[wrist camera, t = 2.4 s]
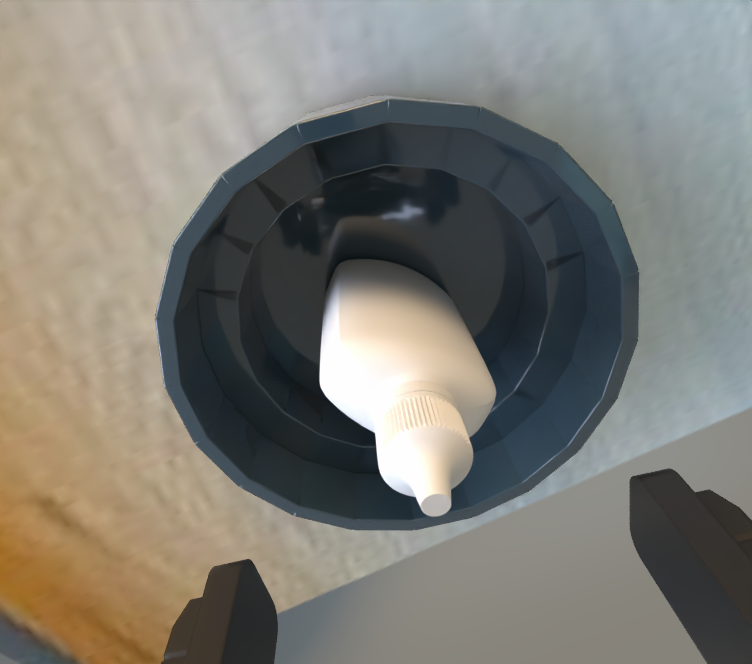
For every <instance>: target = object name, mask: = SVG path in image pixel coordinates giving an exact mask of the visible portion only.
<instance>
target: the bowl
mask: <svg viewBox="0 0 752 664" xmlns="http://www.w3.org/2000/svg"><path fill="white" fill-rule="evenodd" d="M351 259H373V260H381V261H387V262H392V263H395V264H399V265H402V266H405V267H407V268H410V269H412V270H414V271H416V272H418V273H420V274H422V275H424V276H425V277H427V278H428V279H430V280H431V281H433V282H434V283H435V284H437V285H438V286H439V287H440V288H441V289H442V290H444V291H445V292H446V293H447V294H448V295H449V297H450V298H451V299H452V300H453V302H454V304H455V306H456V307H457V309H458V311H459V313H460V315H461V317H462V319H463V321H464V323H465V325H466V327H467V329H468V331H469V333H470V334H471V336H472V338H473V340H474V342H475V344H476V346H477V348H478V350H479V352H480V354H481V356H482V358H483V360H484V362H485V364H486V366H487V369H488V371H489V373H490V375H491V377H492V379H493V382H494V385H495V388H496V398H495V402H494V405H493V407H492V409H491V411H490V413H489V414H488V416H487V418H486V419H485V421H484V423H483V424H482V426H481V427H480V428H479V430H478V431H477V432H476V433H475V434H473V435H472V436H471V437H469V440H470V442H471V445H472V448H473V462H472V466H471V467H470V468H471V469H470V470H469V473H468V474H467V476H466V477H465V478H464V479H463V480H462V481H461V482H460V483H459V484H458V485H457V486H456V487H454V488H453V489H451V507H450V509H449V511H448V512H446V513H445V514H443V515H441V516H428V515H426V514H424V513H423V511H422V510H421V508H420V505H419V503H418V501H417V499H416V497H413V496H408V495H405V494H402V493H399V492H398V491H396V490H394V489H392V487H390V486H389V485H388V484H387V483H386V481H384V480H383V477H381V474H380V470H379V466H378V457H377V447H376V436H375V433H374V432H372V431H370V430H369V429H367V428H365V427H363V426H362V425H360V424H358V423H357V422H355V421H354V420H352V419H351V418H350V417H348V416H347V415H346V414H344V413H343V412H342V411H341V410H340V409H338V408H337V407H336V406H335V405H334V404H333V403H332V402H331V401H330V400H329V399H328V398H327V397H326V396H325V394H324V392H323V391H322V389H321V387H320V353H321V339H322V325H323V312H324V299H325V294H326V291H327V288H328V286H329V283H330V281H331V278H332V275H333V273H334V271H335V269H336V267H337V266H338V265H339V264H340V263H341V262H344V261H346V260H351ZM638 311H639V272H638V267H637V264H636V261H635V259H634V256H633V253H632V251H631V248H630V245H629V243H628V240H627V237H626V235H625V232H624V229H623V227H622V224H621V221H620V219H619V216H618V213H617V211H616V208H615V205H614V204H613V203H612V200H611V199H610V198H609V197H608V196H607V195H606V194H605V193H604V192H603V191H602V190H601V188H600V187H599V186H598V185H597V184H596V183H595V182H594V181H593V180H592V179H591V178H590V177H589V175H588V174H587V173H586V172H585V171H584V170H583V169H582V168H581V167H580V166H579V165H578V163H577V162H576V161H575V160H574V159H573V158H572V157H571V156H570V155H569V154H568V153H567V152H566V150H565V149H564V148H563V147H562V146H561V145H559V144H558V143H557V142H555V141H552V140H550V139H548V138H546V137H544V136H542V135H540V134H538V133H536V132H534V131H532V130H530V129H527V128H525V127H523V126H521V125H519V124H517V123H515V122H513V121H511V120H509V119H507V118H504V117H502V116H500V115H498V114H496V113H494V112H492V111H490V110H488V109H486V108H484V107H479V106H475V105H469V104H462V103H455V102H448V101H442V100H430V99H419V98H407V97H396V96H384V95H372V96H368V97H364V98H361V99H357V100H353V101H350V102H346V103H342V104H338V105H335V106H331V107H327V108H323V109H320V110H316V111H312V112H309V113H307V114H305V115H304V116H302V117H301V118H299V119H298V120H296V121H295V122H294V123H292V124H291V125H289V126H288V127H286V128H285V129H284V130H282V131H281V132H279V133H278V134H276V135H275V136H273V137H272V138H271V139H269V140H268V141H266V142H265V143H263V144H262V145H261V146H259V147H258V148H256V149H255V150H253V151H252V152H251V153H249V154H248V155H247V156H245V157H244V158H243V159H241V160H240V161H239V162H237V163H236V164H234V165H233V166H232V167H230V168H229V169H228V170H226V171H225V172H224V173H222V175H221V176H220V177H218V179H217V180H216V182H215V183H214V185H213V186H212V188H211V189H210V190H209V192H208V193H207V195H206V196H205V198H204V199H203V201H202V202H201V203H200V205H199V206H198V208H197V209H196V211H195V212H194V214H193V215H192V216H191V218H190V219H189V221H188V222H187V224H186V225H185V227H184V228H183V229H182V231H181V232H180V234H179V235H178V237H177V238H176V240H175V241H174V244H173V245H172V248H171V252H170V257H169V261H168V265H167V269H166V273H165V277H164V281H163V286H162V290H161V294H160V298H159V302H158V306H157V310H156V315H155V316H156V318H155V322H156V329H157V337H158V344H159V352H160V359H161V367H162V374H163V381H164V385H165V389H166V390H167V392H168V394H169V396H170V398H171V400H172V402H173V404H174V406H175V408H176V410H177V411H178V413H179V415H180V417H181V419H182V421H183V423H184V425H185V427H186V429H187V430H188V432H189V434H190V436H191V438H192V440H193V442H194V443H195V445H196V446H197V447H198V448H199V449H200V450H201V451H202V452H203V453H204V454H205V455H207V456H208V457H209V458H210V459H211V460H212V461H213V462H214V463H215V464H216V465H217V466H218V467H219V468H220V469H221V470H222V471H223V472H224V473H225V474H226V475H227V476H228V477H229V478H230V479H231V480H232V481H233V482H234V483H235V484H236V485H238V486H240V487H241V488H242V489H244V490H246V491H248V492H250V493H252V494H253V495H255V496H257V497H259V498H261V499H263V500H265V501H267V502H269V503H270V504H272V505H274V506H276V507H278V508H280V509H282V510H284V511H285V512H287V513H289V514H291V515H294V516H296V517H301V518H305V519H309V520H313V521H317V522H321V523H325V524H330V525H334V526H338V527H342V528H346V529H350V530H352V529H353V530H418V529H423V528H427V527H432V526H436V525H441V524H445V523H450V522H454V521H459V520H463V519H468V518H472V517H473V516H474V517H475V516H478V515H480V514H482V513H484V512H486V511H488V510H490V509H492V508H494V507H497V506H499V505H501V504H503V503H505V502H507V501H509V500H511V499H513V498H516V497H518V496H520V495H522V494H524V493H526V492H528V491H529V490H531V489H533V488H534V487H535V486H536V485H537V484H539V483H540V482H541V481H542V480H544V479H545V478H546V477H547V476H549V475H550V474H551V473H552V472H554V471H555V470H556V469H557V468H559V467H560V466H561V465H562V464H564V463H565V462H566V461H567V460H569V459H570V458H571V457H572V456H573V455H575V454H576V453H577V452H578V451H579V450H580V449H581V447H582V446H583V445H584V443H585V442H586V441H587V439H588V438H589V437H590V435H591V434H592V433H593V431H594V430H595V428H596V427H597V426H598V424H599V423H600V422H601V420H602V419H603V418H604V416H605V415H606V413H607V412H608V411H609V409H610V408H611V407H612V405H613V404H614V403H615V401H616V400H617V398H618V395H619V392H620V389H621V386H622V384H623V381H624V378H625V375H626V372H627V370H628V367H629V364H630V361H631V358H632V356H633V353H634V350H635V347H636V344H637V341H638Z"/></svg>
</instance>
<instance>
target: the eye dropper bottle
mask: <svg viewBox="0 0 752 664" xmlns="http://www.w3.org/2000/svg"><path fill="white" fill-rule="evenodd" d="M320 387H321V389H322V391H323V392H324V394H325V396H326V397H327V398H328V399H329V400H330V401H331V402H332V403H333V404H334V405H335V406H336V407H337V408H338V409H340V410H341V411H342V412H343V413H344V414H346V415H347V416H348V417H350V418H351V419H352V420H354V421H355V422H357V423H358V424H360V425H362V426H363V427H365V428H367V429H369V430H370V431H372V432H374V433H375V436H376V447H377V457H378V466H379V470H380V474H381V477H383V480H384V481H386V483H387V484H388V485H389V486H390V487H392V489H394V490H396V491H398V492H399V493H402V494H405V495H408V496H413V497H416V499H417V501H418V503H419V505H420V508H421V510H422V511H423V513H424V514H426V515H428V516H441V515H443V514H445V513H446V512H448V511H449V509H450V507H451V489H453V488H454V487H456V486H457V485H458V484H459V483H460V482H461V481H462V480H463V479H464V478H465V477H466V476H467V474H468V473H469V470H470V469H471V468H470V467H471V466H472V462H473V448H472V445H471V442H470V440H469V437H471V436H472V435H473V434H475V433H476V432H477V431H478V430H479V428H480V427H481V426H482V424H483V423H484V421H485V419H486V418H487V416H488V414H489V413H490V411H491V409H492V407H493V405H494V402H495V398H496V388H495V385H494V382H493V379H492V377H491V375H490V373H489V371H488V369H487V366H486V364H485V362H484V360H483V358H482V356H481V354H480V352H479V350H478V348H477V346H476V344H475V342H474V340H473V338H472V336H471V334H470V333H469V331H468V329H467V327H466V325H465V323H464V321H463V319H462V317H461V315H460V313H459V311H458V309H457V307H456V306H455V304H454V302H453V300H452V299H451V298H450V297H449V295H448V294H447V293H446V292H445V291H444V290H442V289H441V288H440V287H439V286H438V285H437V284H435V283H434V282H433V281H431V280H430V279H428V278H427V277H425V276H424V275H422V274H420V273H418V272H416V271H414V270H412V269H410V268H407V267H405V266H402V265H399V264H395V263H392V262H387V261H381V260H373V259H351V260H346V261H344V262H341V263H340V264H339V265H338V266H337V267H336V269H335V271H334V273H333V275H332V278H331V281H330V283H329V286H328V288H327V291H326V294H325V299H324V312H323V325H322V339H321V353H320Z"/></svg>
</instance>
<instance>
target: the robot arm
mask: <svg viewBox="0 0 752 664" xmlns="http://www.w3.org/2000/svg"><path fill="white" fill-rule="evenodd" d="M630 532H631V536H632V540H633V543H634V545H635V548H636V550H637V552H638V554H639V556H640V558H641V560H642V562H643V563H644V565H645V566H646V568H647V569H648V571H649V573H650V574H651V576H652V577H653V579H654V580H655V582H656V584H657V585H658V587H659V588H660V590H661V591H662V593H663V594H664V596H665V598H666V599H667V601H668V602H669V604H670V606H671V607H672V609H673V610H674V612H675V613H676V615H677V617H678V618H679V620H680V621H681V623H682V624H683V626H684V628H685V629H686V631H687V632H688V634H689V635H690V637H691V639H692V640H693V642H694V643H695V645H696V646H697V648H698V650H699V651H700V653H701V654H702V656H703V658H704V659H705V661H706V662H707V664H752V520H751V519H750V518H749V517H748V516H747V515H746V514H745V513H744V512H743V511H742V510H741V509H740V508H739V507H738V506H736V505H734V504H732V503H731V502H729V501H728V500H726V499H724V498H723V497H721V496H719V495H718V494H716V493H714V492H713V491H711V490H705V491H700V492H694V491H693V490H692V489H691V488H690V486H689V485H688V484H687V483H686V482H685V481H684V480H683V478H682V477H681V476H680V475H679V474H678V473H677V472H676V471H674V470H673V469H664V470H660V471H655V472H651V473H646V474H641V475H637V476H633V477H631V479H630ZM277 632H278V623H277V613H276V609H275V605H274V602H273V600H272V598H271V596H270V594H269V592H268V590H267V589H266V587H265V585H264V583H263V581H262V579H261V577H260V575H259V573H258V571H257V569H256V567H255V565H254V564H253V562H252V561H251V560H250V559H246V560H241V561H237V562H232V563H228V564H223V565H219V566H215V567H213V568H212V569H211V571H210V573H209V575H208V579H207V582H206V586H205V589H204V593H203V597H201V598H197V599H192V600H190V601H189V603H188V604H187V606H186V607H185V609H184V610H183V612H182V613H181V615H180V616H179V618H178V620H177V621H176V623H175V624H174V626H173V628H172V631H171V634H170V637H169V640H168V644H167V647H166V650H165V653H164V661H162V662H161V664H274V658H275V650H276V642H277Z"/></svg>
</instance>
